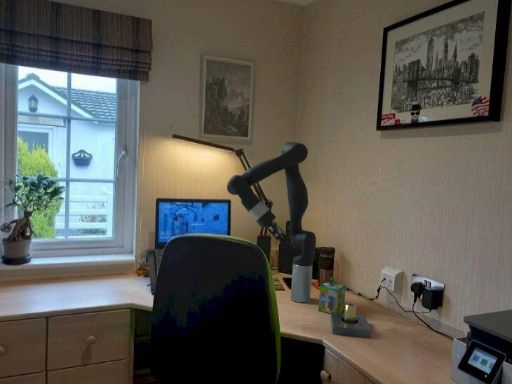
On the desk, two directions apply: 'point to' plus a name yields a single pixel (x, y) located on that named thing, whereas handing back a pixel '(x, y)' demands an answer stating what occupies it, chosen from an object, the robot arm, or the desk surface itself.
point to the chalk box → (332, 297)
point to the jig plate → (350, 326)
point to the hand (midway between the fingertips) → (287, 243)
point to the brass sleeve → (350, 313)
